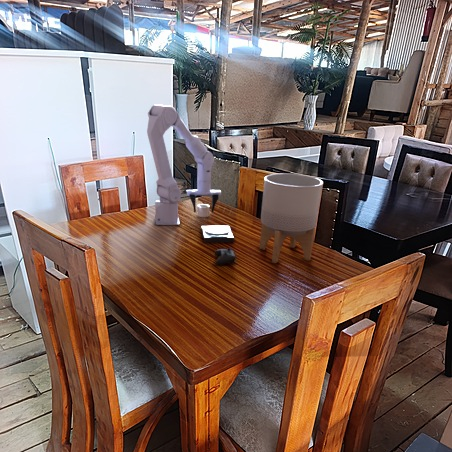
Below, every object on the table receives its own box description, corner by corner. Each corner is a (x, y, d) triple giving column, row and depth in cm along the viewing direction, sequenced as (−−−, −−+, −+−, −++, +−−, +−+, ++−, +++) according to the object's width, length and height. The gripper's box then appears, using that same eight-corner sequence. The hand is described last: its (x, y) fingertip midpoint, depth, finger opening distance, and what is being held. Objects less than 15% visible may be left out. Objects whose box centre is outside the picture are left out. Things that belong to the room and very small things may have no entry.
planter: (300, 269, 131) (312, 190, 118) (248, 256, 138) (254, 180, 126) (317, 251, 145) (330, 179, 133) (270, 240, 153) (278, 170, 140)
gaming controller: (213, 252, 138) (225, 240, 136) (223, 262, 140) (236, 251, 138) (214, 263, 129) (228, 251, 128) (225, 274, 132) (239, 262, 130)
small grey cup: (198, 217, 174) (198, 207, 171) (197, 213, 178) (197, 203, 176) (209, 217, 174) (210, 207, 172) (208, 213, 179) (208, 204, 177)
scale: (204, 242, 148) (204, 236, 147) (201, 230, 159) (201, 224, 158) (233, 242, 149) (233, 236, 148) (228, 230, 161) (228, 224, 159)
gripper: (219, 178, 173) (218, 209, 180) (186, 177, 171) (186, 209, 178) (221, 182, 167) (220, 213, 174) (187, 181, 165) (187, 213, 172)
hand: (203, 211), depth 175 cm, fingers open, 7 cm apart
